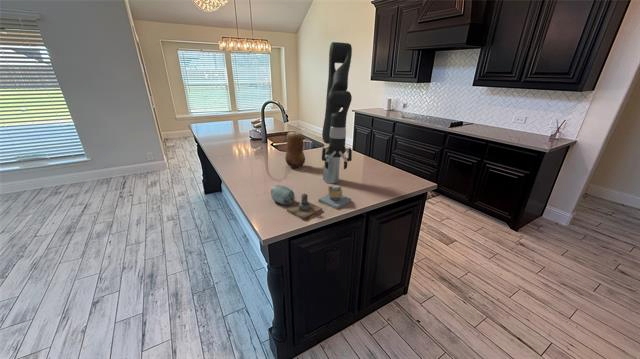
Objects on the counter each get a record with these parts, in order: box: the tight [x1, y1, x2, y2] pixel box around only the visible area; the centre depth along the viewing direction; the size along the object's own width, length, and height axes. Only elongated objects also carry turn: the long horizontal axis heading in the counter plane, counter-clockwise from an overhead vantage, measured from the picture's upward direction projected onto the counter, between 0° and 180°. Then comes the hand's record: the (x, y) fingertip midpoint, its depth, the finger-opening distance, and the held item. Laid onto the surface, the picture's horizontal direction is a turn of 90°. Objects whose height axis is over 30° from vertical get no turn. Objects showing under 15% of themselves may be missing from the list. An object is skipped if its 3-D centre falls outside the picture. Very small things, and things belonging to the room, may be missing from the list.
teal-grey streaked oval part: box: [270, 185, 296, 206], centre depth 128 cm, size 14×10×10 cm
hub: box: [318, 184, 352, 210], centre depth 129 cm, size 12×12×8 cm
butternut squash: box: [284, 131, 306, 169], centre depth 173 cm, size 14×13×25 cm
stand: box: [286, 193, 323, 221], centre depth 119 cm, size 12×12×8 cm
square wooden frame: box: [328, 186, 343, 197], centre depth 128 cm, size 6×6×3 cm
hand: (336, 168), depth 123 cm, fingers open, 8 cm apart
